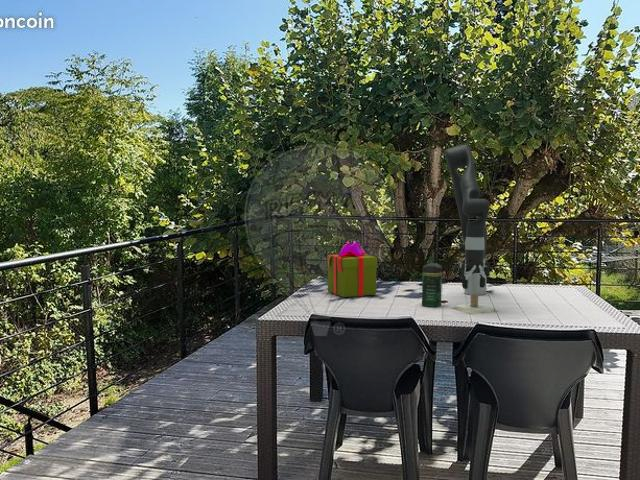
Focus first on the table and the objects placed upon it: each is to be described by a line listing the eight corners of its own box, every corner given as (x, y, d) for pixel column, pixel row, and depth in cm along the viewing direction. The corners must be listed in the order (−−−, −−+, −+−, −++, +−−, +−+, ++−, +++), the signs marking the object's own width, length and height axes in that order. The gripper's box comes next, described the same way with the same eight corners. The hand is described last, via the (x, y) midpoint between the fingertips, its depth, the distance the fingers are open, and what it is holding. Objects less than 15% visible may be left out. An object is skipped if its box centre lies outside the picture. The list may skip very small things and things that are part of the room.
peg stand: (475, 306, 240) (476, 291, 240) (494, 310, 231) (494, 295, 230) (454, 308, 236) (454, 293, 235) (472, 313, 226) (472, 297, 225)
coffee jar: (439, 309, 237) (440, 265, 235) (420, 308, 239) (420, 264, 238) (442, 305, 246) (443, 262, 244) (424, 304, 248) (424, 261, 247)
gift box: (321, 293, 276) (321, 241, 274) (354, 289, 288) (354, 239, 286) (348, 299, 259) (348, 244, 257) (382, 294, 272) (382, 242, 270)
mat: (476, 307, 242) (476, 305, 242) (499, 313, 230) (499, 311, 230) (449, 309, 237) (449, 307, 237) (471, 316, 224) (471, 314, 224)
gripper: (482, 247, 238) (481, 285, 239) (454, 247, 232) (453, 287, 233) (494, 248, 231) (493, 288, 232) (466, 249, 225) (465, 290, 226)
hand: (473, 288), depth 232 cm, fingers open, 8 cm apart
